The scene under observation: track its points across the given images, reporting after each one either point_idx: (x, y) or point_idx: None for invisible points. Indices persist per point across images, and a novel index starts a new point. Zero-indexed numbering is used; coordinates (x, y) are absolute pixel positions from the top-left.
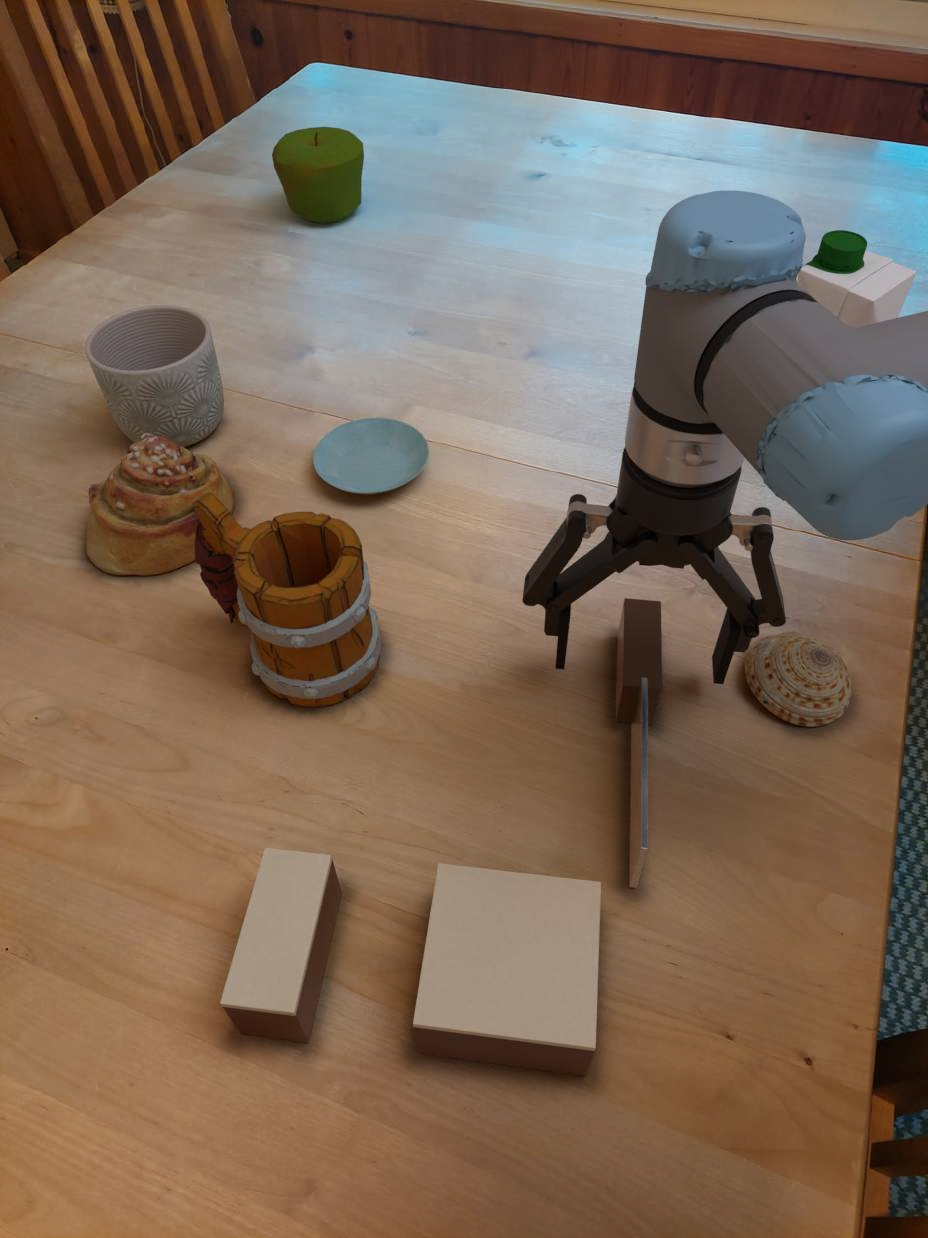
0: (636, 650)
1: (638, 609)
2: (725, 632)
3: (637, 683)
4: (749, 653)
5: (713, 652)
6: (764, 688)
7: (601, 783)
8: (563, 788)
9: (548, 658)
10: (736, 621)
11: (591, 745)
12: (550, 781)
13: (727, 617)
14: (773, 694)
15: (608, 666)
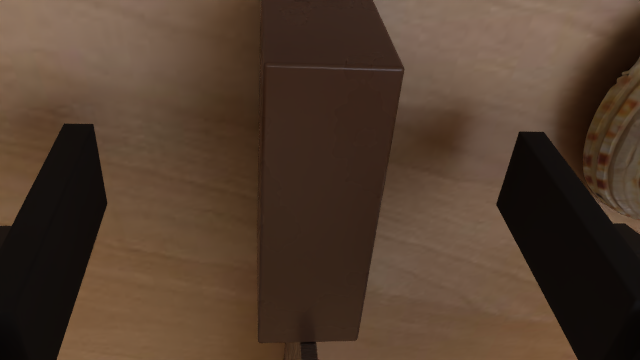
0: (298, 258)
1: (315, 113)
2: (577, 297)
3: (295, 338)
4: (629, 80)
5: (527, 143)
6: (614, 191)
7: (233, 335)
8: (165, 348)
9: (61, 80)
10: (627, 354)
11: (209, 279)
12: (139, 341)
13: (607, 309)
14: (626, 203)
15: (236, 92)
